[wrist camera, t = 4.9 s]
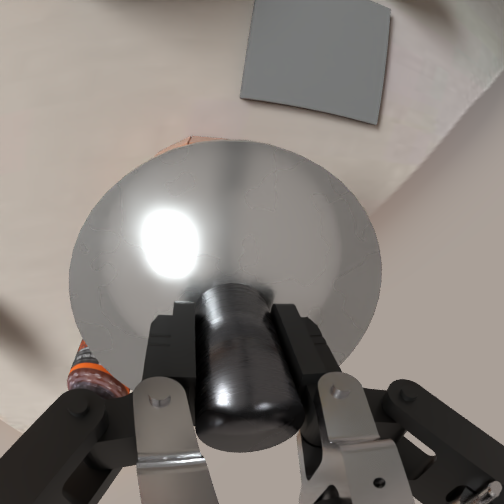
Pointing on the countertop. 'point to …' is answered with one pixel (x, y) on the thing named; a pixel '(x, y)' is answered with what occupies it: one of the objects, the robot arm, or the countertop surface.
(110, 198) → the lid
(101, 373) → the supplement bottle
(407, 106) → the countertop surface
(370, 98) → the mat
